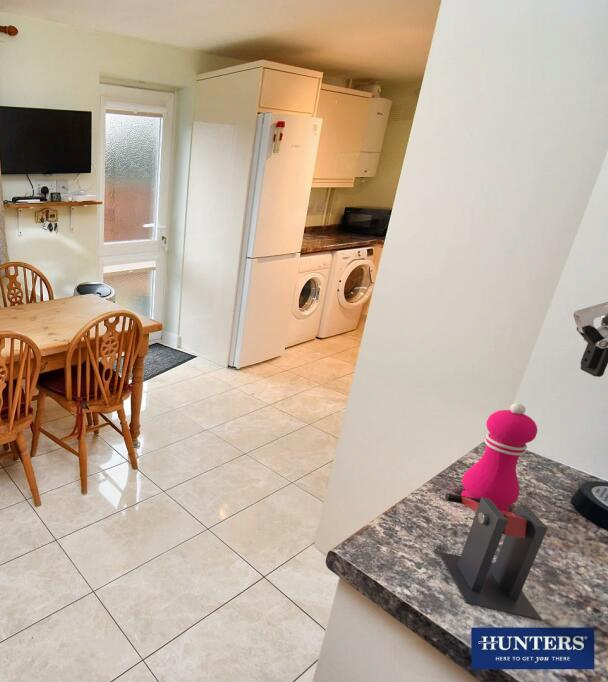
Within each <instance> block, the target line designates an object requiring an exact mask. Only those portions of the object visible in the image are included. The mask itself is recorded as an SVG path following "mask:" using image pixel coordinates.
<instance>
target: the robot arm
mask: <svg viewBox="0 0 608 682" xmlns="http://www.w3.org/2000/svg"><path fill="white" fill-rule="evenodd" d="M572 315H573V318H574V323H575V325H576V331H577V332H578V334H579V335H581V337H582V338H583V341H584V342H585V343H587V344H586V347H585V350H584V352H583V354H582V357H581V359H580V370H581V371H583V372H585V373H587V374H588V375H591V376H593V377H596V378H600V377H603V376H604V374H605V371H606V369H607V366H608V301H606V302H602V303H598V304H595V305H591V306H589V307H585V308H581V309H578V310H575V311H574V312H573V314H572ZM600 317H601V318H600ZM597 318H600V326H598V327H597V328H596V327H595V326H594V324H595V323H594V321H595V320H596V319H597Z"/></svg>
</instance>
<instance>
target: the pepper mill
mask: <svg viewBox="0 0 608 682" xmlns="http://www.w3.org/2000/svg"><path fill="white" fill-rule="evenodd" d="M525 412H526V407H525V405H523V404H521V403H517V402H516V403H513V404H511V405H510V407H509V409H501V410H497V411H494V412H493V413H491V414H490V415H489V416H488V418H487V419H486V422H485V423H486V424H485V427H486V429H487V431H488V433H487V434H486V435H485V439H484V443H485V445H486V447H485V450H484V451H483V455H482V456H481V458H480V459H478V461H477V462H476V463H475V464H473V465H472V466H471V467H469V468H468V469H467V470H466V471H465V473H464V475H463V477H462V480H461V484H462V486H463V488H464V490H462V491H461V493H460V494H461V496H467V497H472V498H478V499H481V498H488V499H491V501H492V502H493V503H494V504H495V506H496V507H497V508H498V509H499V510H501V511H506V512H510V507H509V506H511V505H513V504H515V503H516V502H517V501H518V499H519V496H520V484H519V479H518V475H517V464H518V461H519V458H520V456H523V455H525V454H526V450H527V448H528V445H527V444H528V443H531V442H532V441H534V440H535V439H536V437H537V434H538V425H537V423H536V422H535V420H534V419H533V418H532V417H530V416H529V415H527V414H525Z"/></svg>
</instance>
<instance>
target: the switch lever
mask: <svg viewBox="0 0 608 682" xmlns="http://www.w3.org/2000/svg"><path fill="white" fill-rule="evenodd" d="M444 500H445V501H447V502H451V503H455V504H461V505H463V506H465V507H467V508H469V509H471V510H473V511H474V512H475V513H476V512H477V509H478V506H479V503H480V500H481V499H478V498H472V497H467V496H461V495H460V494H455V493H451V492H450V493H449V492H446V493H445V494H444ZM500 512H501V513H502V514H503V515H504V517H505V518H506V519H507V520H508V521H507V524H506V527H505V529H504V532H503V534H502V535H505V536H506V535H509V536H515V537H520V538H525V534H526V524H527V519H525V518H523V517H521V516H519V515H516V514H514V513H515V512H511V511H508V512H506V511H501V510H500Z"/></svg>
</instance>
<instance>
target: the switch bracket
mask: <svg viewBox="0 0 608 682" xmlns="http://www.w3.org/2000/svg"><path fill="white" fill-rule="evenodd" d="M513 513H514V514H516V515H519V516H521V517H523V518H525V519H527V524H526V534H525V538H520V537H515V536H509V535H505V536H504V539H503V541H502V544H501V547H500V549H499V552H498V555H497V557H496V560H495V561H494V562H493V560H494V558H495V555H496V553H497V550H498V547H499V544H500V543H501V539H502V537H503V535H504V534H503V532H504V529H505V527H506V524H507V521H508V520H507V519H506V518H505V517H504V515H503V514H502V513H501V512H500V510H499V509H498V508H497V507H496V506H495V504H494V503H493V502H492V501H491V499H488V498H481V500H480V503H479V506H478V509H477V512H476V511H475V515H474V517H473V520H472V523H471V525H470V528H469V531H468V533H467V534H468V535H467V537H466V540H465V543H464V546H463V548H462V551H461V555H458V554H453V553H447V552H443V551H439V550H438V551H437V554H438V556H439V558H440V559H441V561H442V563H443V564H444V566H445V568H446V570H447V572H448V574H449V576H450V577H451V579H452V582H453V583H454V585H455V587H456V589H457V590H458V593H459V594H460V596H461V598H462V600H463V602H464V603H465V604H467V605H471V606H476V607H480V608H485V609H488V610H493V611H497V612H502V613H505V614H509V615H515V616H519V617H523V618H526V619H527V618H528V619H532V620H535V621H540V622H542V621H543V619H542V617H541V616H540V615H539V613H538V612H537V610H536V609H535V607H534V605H533V604H532V603H531V601H530V600H529V599H528V597H527V596H526V594H525V593H524V592H523V588H524V586H525V584H526V581H527V578H528V576H529V574H530V572H531V569H532V567H533V564H534V562H535V559H536V558H537V555H538V552H539V550H540V548H541V545H542V543H543V541H544V539H545V536H546V534H547V532H548V527H547V525H546V524H545V523H544V522H543V521H542V519H540V518H539V517H538V516H537V514H536V513H535V512H534V511H533V510H532V509H531V508H530V506H529V505H526V504H521V503H517V506H516V509H515V511H514V512H513Z"/></svg>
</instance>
